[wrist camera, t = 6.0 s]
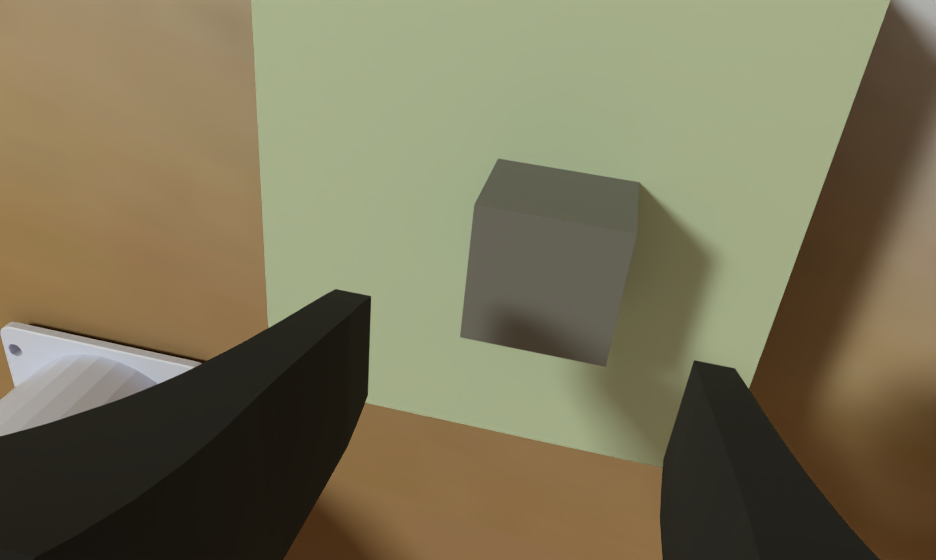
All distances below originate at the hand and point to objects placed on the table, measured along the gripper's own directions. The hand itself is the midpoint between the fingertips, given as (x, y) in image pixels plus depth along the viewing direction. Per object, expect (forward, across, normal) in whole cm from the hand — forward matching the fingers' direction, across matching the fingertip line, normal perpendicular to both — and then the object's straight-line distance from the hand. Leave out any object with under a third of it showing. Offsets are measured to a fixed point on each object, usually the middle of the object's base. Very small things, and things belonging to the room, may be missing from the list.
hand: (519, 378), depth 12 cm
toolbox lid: (+6, +1, 0) cm, 6 cm away
